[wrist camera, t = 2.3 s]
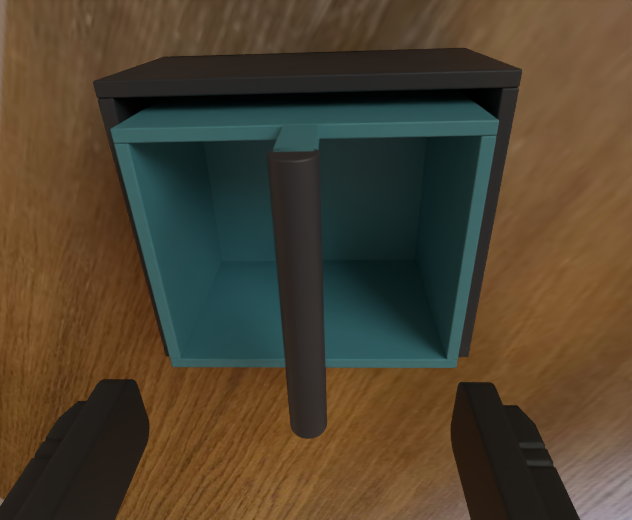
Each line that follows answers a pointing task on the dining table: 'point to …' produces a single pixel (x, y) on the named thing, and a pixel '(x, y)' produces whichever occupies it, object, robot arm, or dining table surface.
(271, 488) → the dining table surface
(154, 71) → the charcoal bin
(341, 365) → the teal bin
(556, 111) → the dining table surface
